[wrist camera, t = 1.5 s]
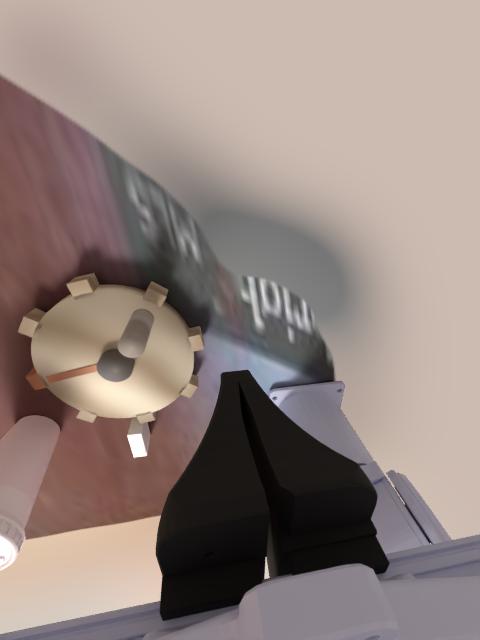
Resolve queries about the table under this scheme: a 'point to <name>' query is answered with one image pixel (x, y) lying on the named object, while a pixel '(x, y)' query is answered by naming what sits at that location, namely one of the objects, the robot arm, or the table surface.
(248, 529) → the robot arm
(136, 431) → the index pointer
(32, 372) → the sprocket
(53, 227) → the table surface
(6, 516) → the smoothie
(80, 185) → the table surface
